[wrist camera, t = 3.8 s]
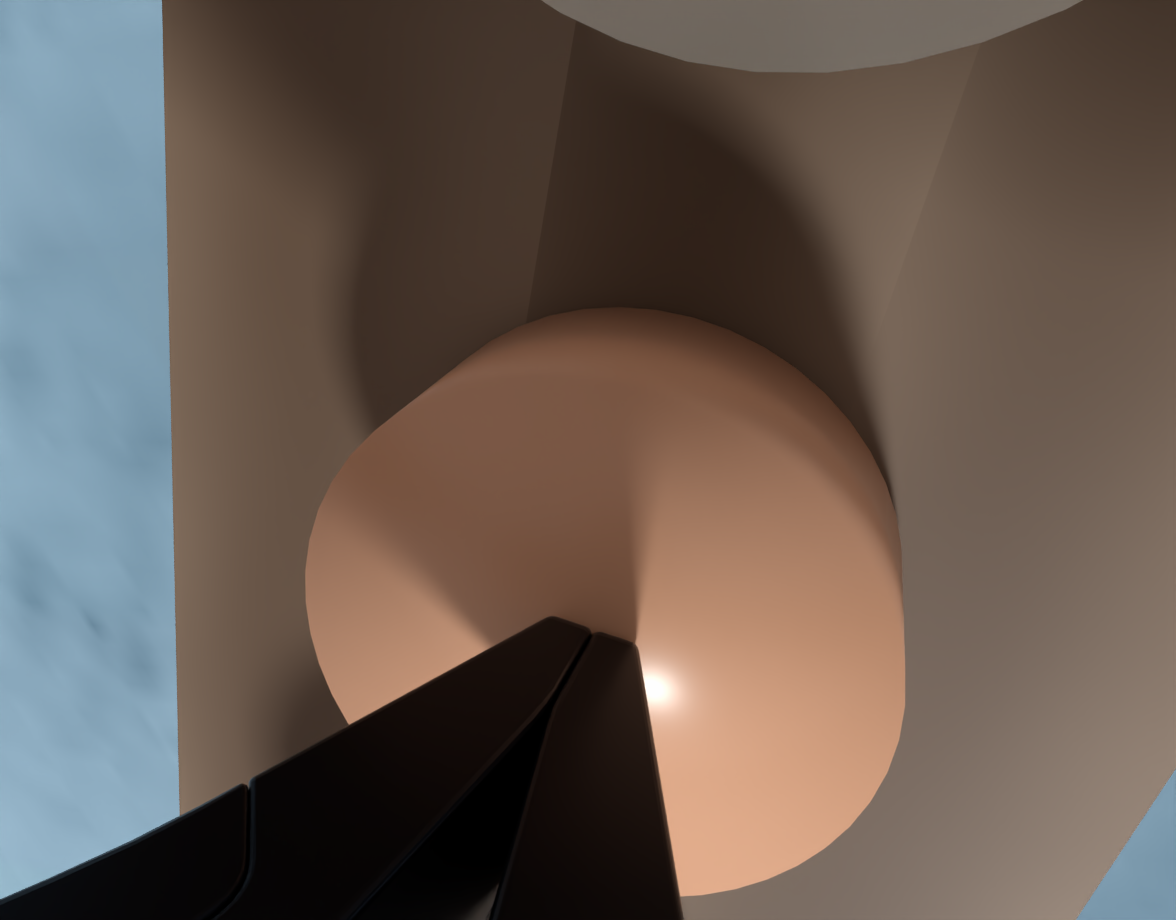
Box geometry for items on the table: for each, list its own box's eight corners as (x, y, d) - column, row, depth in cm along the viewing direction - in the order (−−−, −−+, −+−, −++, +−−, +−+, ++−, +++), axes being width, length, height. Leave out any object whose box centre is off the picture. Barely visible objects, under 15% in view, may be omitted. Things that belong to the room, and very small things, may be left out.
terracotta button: (965, 311, 11) (1016, 494, 7) (822, 672, 14) (793, 972, 9) (525, 197, 12) (321, 293, 8) (470, 554, 15) (293, 778, 10)
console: (2040, -1045, 6) (2906, -1848, 3) (828, 1123, 18) (818, 1308, 15) (372, -1074, 8) (127, -1602, 5) (276, 895, 20) (184, 1024, 17)
